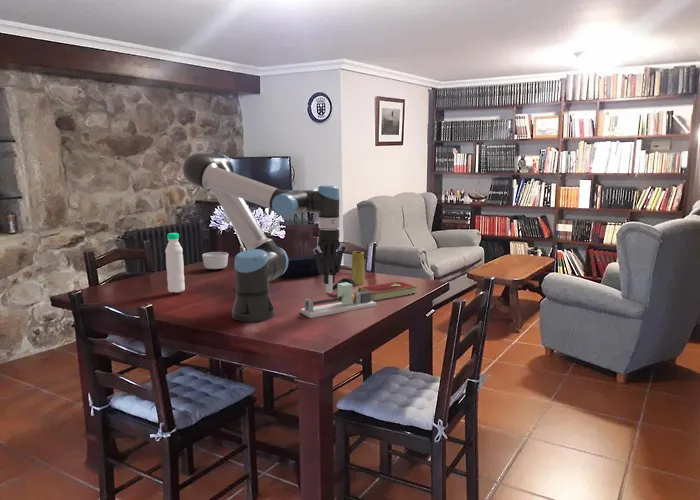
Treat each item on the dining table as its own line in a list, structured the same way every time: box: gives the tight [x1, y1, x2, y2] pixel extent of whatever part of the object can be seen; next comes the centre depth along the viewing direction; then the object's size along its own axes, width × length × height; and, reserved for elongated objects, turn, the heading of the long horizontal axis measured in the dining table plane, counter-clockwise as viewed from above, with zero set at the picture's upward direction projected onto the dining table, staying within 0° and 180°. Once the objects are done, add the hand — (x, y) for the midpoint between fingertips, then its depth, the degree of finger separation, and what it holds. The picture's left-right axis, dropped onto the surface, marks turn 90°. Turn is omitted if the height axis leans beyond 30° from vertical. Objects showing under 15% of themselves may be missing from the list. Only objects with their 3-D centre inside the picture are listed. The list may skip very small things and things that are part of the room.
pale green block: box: [336, 282, 354, 304], centre depth 205 cm, size 4×4×7 cm
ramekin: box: [201, 251, 229, 270], centre depth 285 cm, size 13×13×7 cm
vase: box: [351, 250, 366, 286], centre depth 244 cm, size 6×6×14 cm
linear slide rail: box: [300, 290, 377, 319], centre depth 204 cm, size 28×8×6 cm, turn 121°
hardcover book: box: [358, 280, 418, 302], centre depth 225 cm, size 12×21×4 cm, turn 120°
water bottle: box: [164, 232, 186, 293], centre depth 233 cm, size 7×7×25 cm
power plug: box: [326, 277, 356, 294], centre depth 227 cm, size 6×8×12 cm
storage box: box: [279, 254, 323, 279], centre depth 265 cm, size 21×16×10 cm
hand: (329, 292), depth 201 cm, fingers closed
